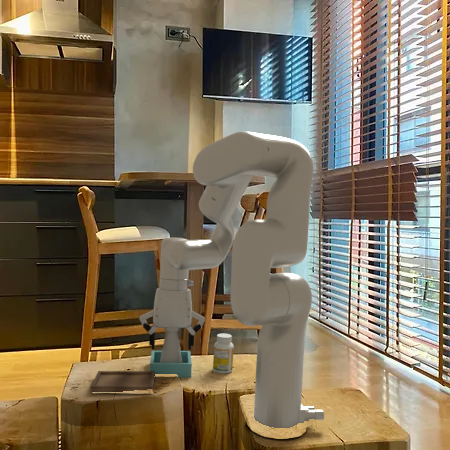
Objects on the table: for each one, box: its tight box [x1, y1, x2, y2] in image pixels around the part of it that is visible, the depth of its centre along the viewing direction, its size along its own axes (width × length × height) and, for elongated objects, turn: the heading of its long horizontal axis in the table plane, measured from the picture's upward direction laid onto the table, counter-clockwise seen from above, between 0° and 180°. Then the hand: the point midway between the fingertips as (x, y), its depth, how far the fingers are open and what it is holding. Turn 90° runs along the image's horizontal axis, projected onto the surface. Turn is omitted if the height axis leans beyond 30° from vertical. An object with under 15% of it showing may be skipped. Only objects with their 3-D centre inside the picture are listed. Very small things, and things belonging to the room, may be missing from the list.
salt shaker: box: [160, 327, 182, 363], centre depth 129 cm, size 6×6×13 cm
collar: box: [149, 350, 193, 378], centre depth 129 cm, size 11×11×4 cm
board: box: [90, 370, 155, 393], centre depth 117 cm, size 14×10×2 cm
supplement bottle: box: [212, 333, 235, 375], centre depth 131 cm, size 5×5×10 cm
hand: (171, 348), depth 129 cm, fingers open, 9 cm apart
